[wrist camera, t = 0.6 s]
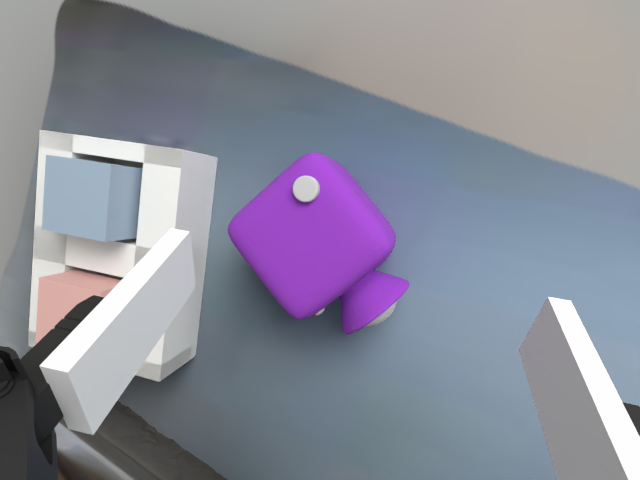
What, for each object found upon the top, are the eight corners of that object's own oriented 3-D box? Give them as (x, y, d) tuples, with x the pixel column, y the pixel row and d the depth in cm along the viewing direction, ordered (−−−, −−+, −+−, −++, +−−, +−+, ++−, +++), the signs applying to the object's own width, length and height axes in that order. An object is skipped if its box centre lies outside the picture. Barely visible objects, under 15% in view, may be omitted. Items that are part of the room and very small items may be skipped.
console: (195, 355, 41) (159, 381, 35) (79, 326, 43) (28, 345, 38) (217, 157, 38) (182, 149, 32) (92, 139, 41) (39, 129, 35)
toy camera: (361, 335, 37) (342, 383, 27) (251, 238, 38) (197, 251, 28) (441, 246, 34) (453, 264, 25) (321, 147, 36) (288, 127, 26)
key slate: (136, 237, 35) (105, 242, 31) (78, 226, 36) (41, 229, 32) (142, 168, 34) (111, 164, 30) (83, 159, 35) (45, 154, 32)
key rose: (127, 346, 36) (95, 363, 32) (71, 332, 37) (34, 346, 34) (132, 282, 35) (101, 291, 32) (75, 269, 36) (38, 277, 33)
